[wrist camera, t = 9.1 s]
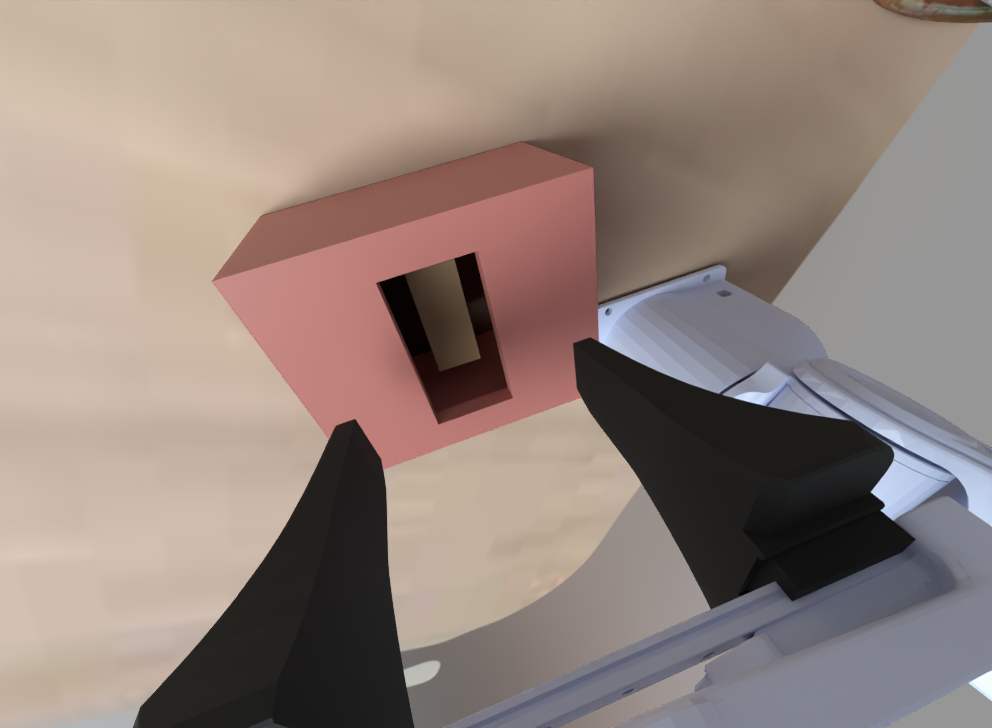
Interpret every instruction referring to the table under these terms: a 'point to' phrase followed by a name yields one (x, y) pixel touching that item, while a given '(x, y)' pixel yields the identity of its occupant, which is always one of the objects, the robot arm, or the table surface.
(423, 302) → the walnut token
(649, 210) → the table surface
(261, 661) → the robot arm
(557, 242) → the money box
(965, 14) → the tin
